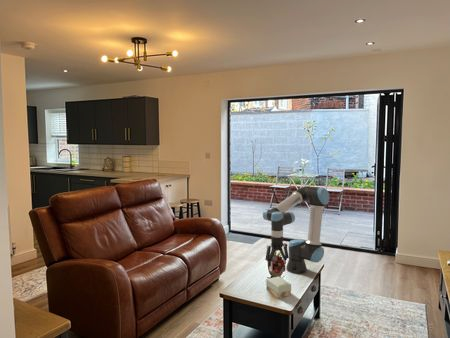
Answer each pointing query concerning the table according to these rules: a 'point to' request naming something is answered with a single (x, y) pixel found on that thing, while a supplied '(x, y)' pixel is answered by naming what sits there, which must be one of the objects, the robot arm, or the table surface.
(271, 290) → the block
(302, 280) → the table surface
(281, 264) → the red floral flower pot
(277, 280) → the cream flat block
